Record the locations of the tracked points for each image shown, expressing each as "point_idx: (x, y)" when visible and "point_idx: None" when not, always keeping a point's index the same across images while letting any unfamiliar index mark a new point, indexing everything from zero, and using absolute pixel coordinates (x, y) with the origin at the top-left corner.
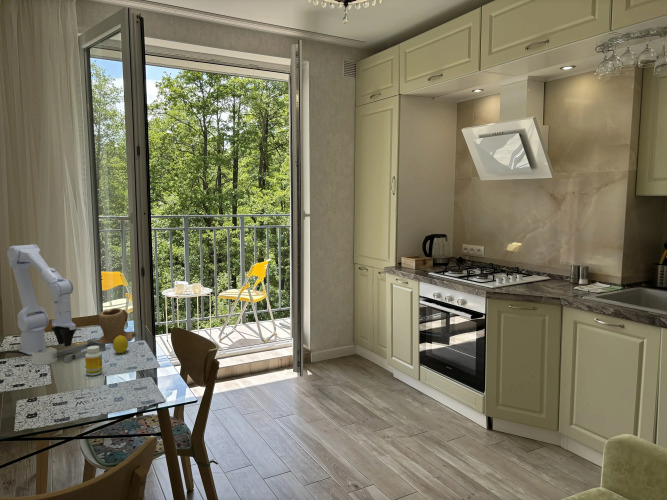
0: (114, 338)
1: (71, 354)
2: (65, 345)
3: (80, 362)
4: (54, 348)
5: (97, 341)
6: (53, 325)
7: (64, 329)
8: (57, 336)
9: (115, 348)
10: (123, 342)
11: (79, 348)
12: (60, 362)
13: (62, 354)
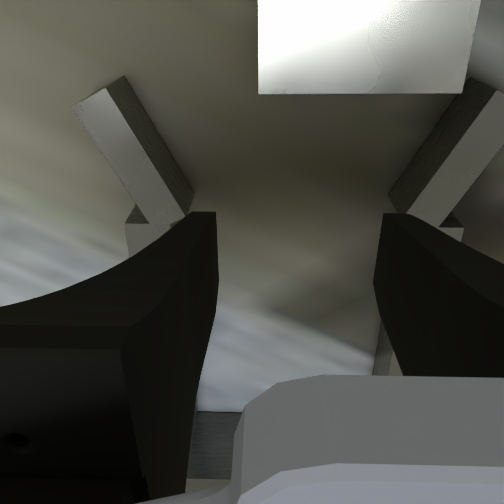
0: None
1: (169, 207)
2: (187, 217)
3: (6, 182)
4: (315, 85)
5: None
6: (370, 411)
7: (37, 445)
8: (444, 271)
9: None
10: None
11: (382, 366)
12: (174, 55)
13: (394, 199)
